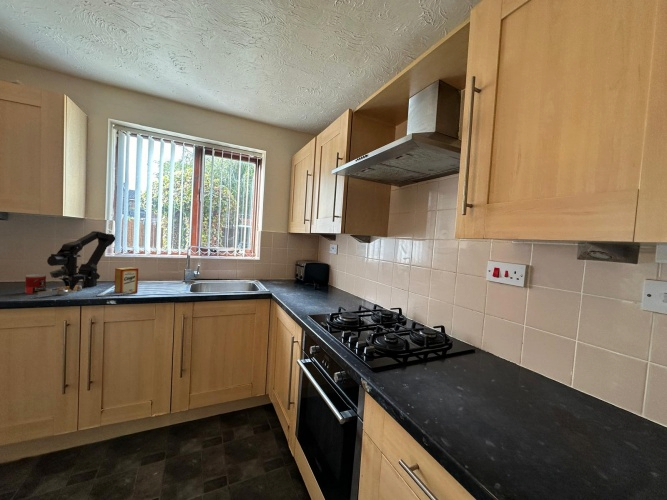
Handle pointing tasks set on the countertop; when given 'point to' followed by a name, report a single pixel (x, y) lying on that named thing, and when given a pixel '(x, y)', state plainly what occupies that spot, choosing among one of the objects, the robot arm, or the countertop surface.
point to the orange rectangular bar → (67, 287)
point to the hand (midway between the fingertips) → (69, 290)
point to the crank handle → (54, 292)
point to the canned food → (35, 283)
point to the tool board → (79, 288)
